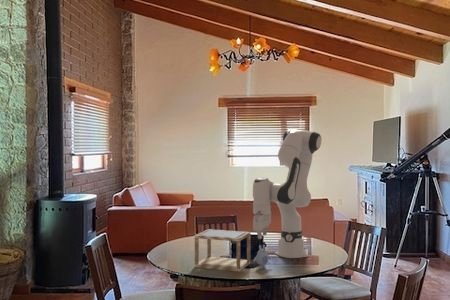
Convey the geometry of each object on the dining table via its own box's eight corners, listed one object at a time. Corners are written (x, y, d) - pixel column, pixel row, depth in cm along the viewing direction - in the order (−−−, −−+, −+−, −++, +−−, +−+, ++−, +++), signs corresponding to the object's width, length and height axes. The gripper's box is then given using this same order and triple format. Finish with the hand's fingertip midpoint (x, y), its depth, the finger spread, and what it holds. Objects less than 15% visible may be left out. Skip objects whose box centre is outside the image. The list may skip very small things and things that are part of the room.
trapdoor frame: (250, 263, 247) (250, 232, 247) (239, 271, 230) (239, 238, 230) (208, 259, 256) (208, 229, 255) (194, 267, 239) (194, 235, 239)
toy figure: (256, 271, 231) (256, 247, 231) (250, 268, 236) (250, 244, 236) (274, 268, 236) (274, 244, 236) (267, 265, 242) (267, 242, 242)
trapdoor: (245, 238, 246) (245, 232, 246) (236, 244, 233) (236, 237, 233) (210, 236, 253) (210, 230, 253) (199, 241, 240) (199, 234, 240)
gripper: (261, 213, 225) (262, 241, 226) (273, 207, 244) (273, 233, 245) (249, 212, 227) (250, 240, 228) (261, 206, 247) (262, 232, 247)
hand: (262, 236), depth 236 cm, fingers open, 7 cm apart
